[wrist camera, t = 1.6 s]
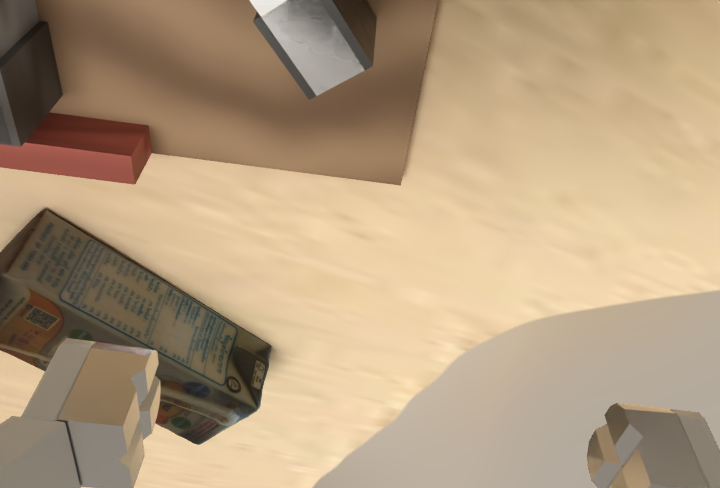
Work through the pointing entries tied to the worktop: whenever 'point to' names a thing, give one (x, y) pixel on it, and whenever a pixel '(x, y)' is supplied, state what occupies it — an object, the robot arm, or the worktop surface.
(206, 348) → the beverage carton
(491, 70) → the worktop surface
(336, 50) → the jaw
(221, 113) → the tongs base
